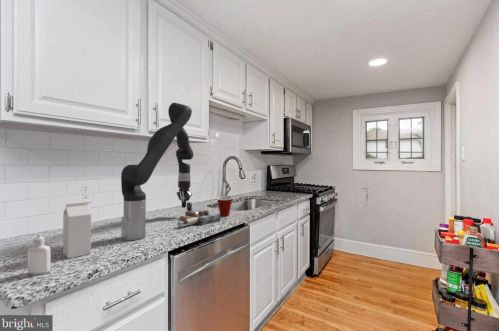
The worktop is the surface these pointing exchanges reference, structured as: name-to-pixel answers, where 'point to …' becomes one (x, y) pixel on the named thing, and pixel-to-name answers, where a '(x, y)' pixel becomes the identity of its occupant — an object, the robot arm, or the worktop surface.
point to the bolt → (189, 208)
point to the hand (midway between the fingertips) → (183, 207)
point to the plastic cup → (224, 205)
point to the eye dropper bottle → (38, 257)
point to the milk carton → (76, 230)
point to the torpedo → (187, 222)
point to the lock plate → (202, 217)
